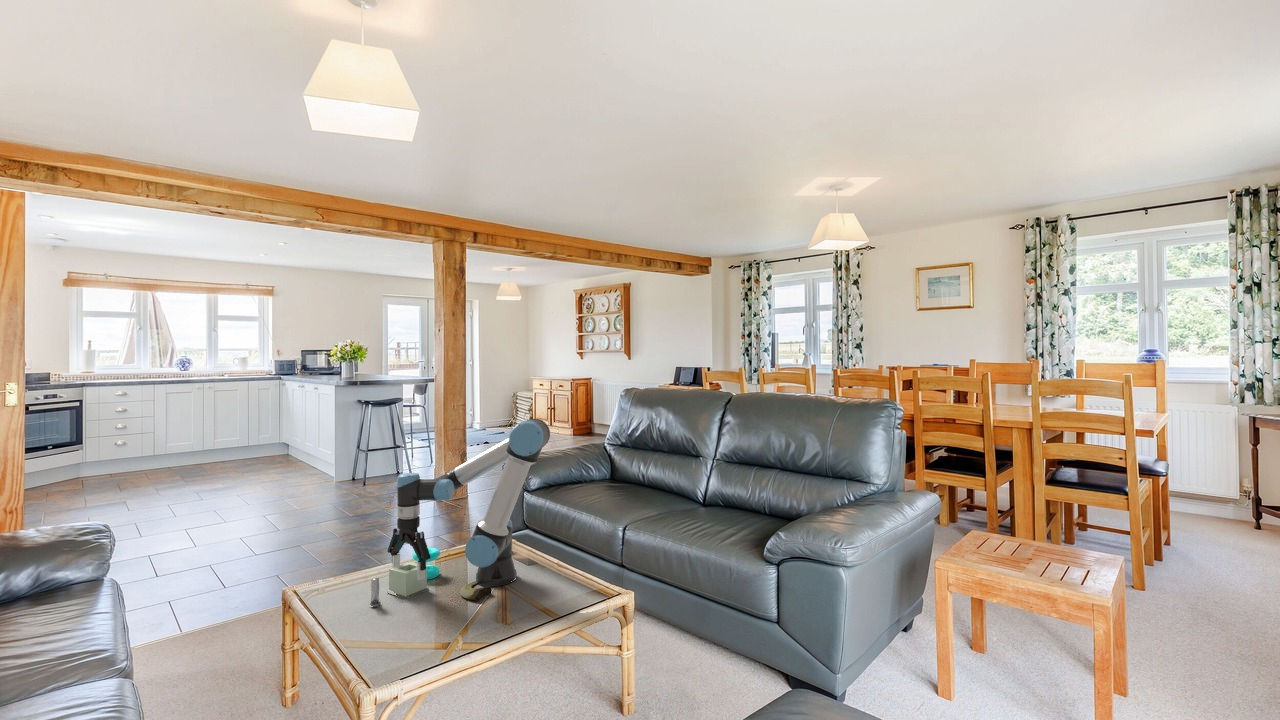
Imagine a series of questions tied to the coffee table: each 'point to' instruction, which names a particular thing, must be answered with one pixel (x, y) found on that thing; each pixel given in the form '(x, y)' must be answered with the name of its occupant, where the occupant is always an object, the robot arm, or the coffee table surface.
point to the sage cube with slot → (406, 579)
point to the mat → (412, 594)
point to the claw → (474, 592)
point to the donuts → (431, 569)
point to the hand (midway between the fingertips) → (408, 576)
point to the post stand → (375, 592)
